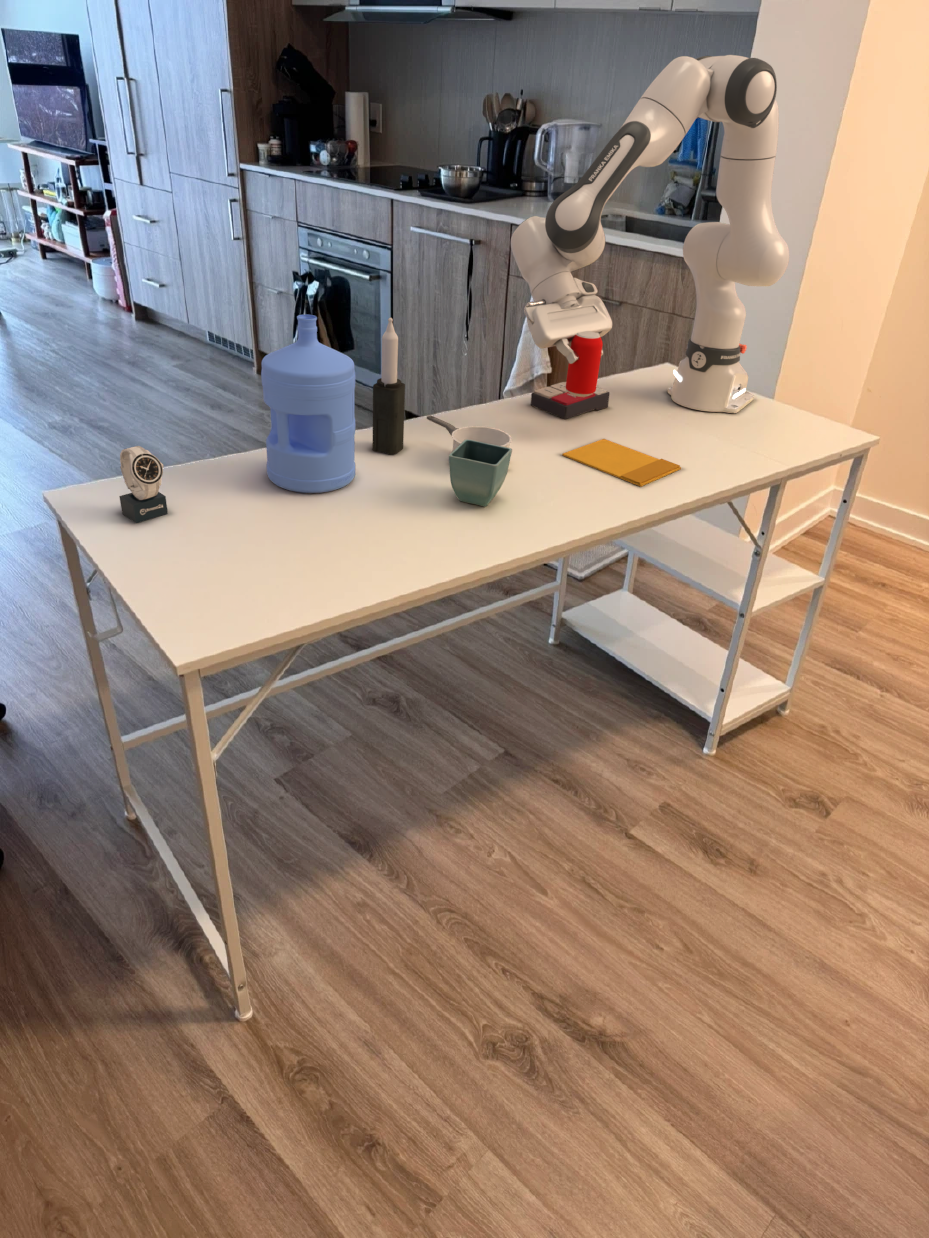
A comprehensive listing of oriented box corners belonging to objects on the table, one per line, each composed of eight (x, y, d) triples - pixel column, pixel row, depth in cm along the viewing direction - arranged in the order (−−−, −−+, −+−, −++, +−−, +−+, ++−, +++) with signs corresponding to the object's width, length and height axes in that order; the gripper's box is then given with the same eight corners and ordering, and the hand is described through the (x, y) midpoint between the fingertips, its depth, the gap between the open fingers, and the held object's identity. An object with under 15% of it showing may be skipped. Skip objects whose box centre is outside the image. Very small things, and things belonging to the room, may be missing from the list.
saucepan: (447, 436, 177) (448, 409, 174) (521, 466, 166) (524, 439, 163) (406, 448, 169) (407, 421, 166) (481, 481, 158) (484, 452, 155)
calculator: (530, 389, 194) (575, 376, 203) (529, 407, 197) (573, 393, 205) (566, 403, 188) (611, 389, 196) (564, 422, 190) (608, 407, 199)
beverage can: (568, 387, 179) (575, 328, 173) (597, 391, 178) (606, 332, 171) (562, 395, 174) (569, 335, 168) (592, 400, 173) (601, 340, 166)
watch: (142, 527, 134) (132, 461, 128) (116, 510, 139) (106, 445, 133) (174, 517, 138) (166, 453, 132) (148, 501, 142) (139, 437, 136)
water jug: (310, 453, 164) (305, 300, 149) (373, 476, 157) (375, 318, 142) (248, 477, 153) (236, 315, 138) (313, 503, 146) (308, 335, 131)
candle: (370, 450, 167) (371, 318, 154) (382, 442, 171) (384, 312, 158) (393, 455, 166) (397, 322, 152) (405, 447, 170) (409, 317, 156)
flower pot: (492, 514, 147) (497, 465, 142) (444, 503, 149) (447, 455, 144) (508, 495, 154) (513, 448, 149) (462, 485, 156) (465, 438, 151)
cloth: (603, 440, 181) (604, 437, 180) (680, 469, 170) (681, 466, 170) (561, 455, 172) (562, 452, 172) (640, 486, 161) (641, 483, 161)
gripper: (530, 294, 164) (561, 358, 163) (600, 283, 176) (629, 344, 175) (511, 312, 169) (542, 375, 168) (581, 301, 181) (609, 360, 180)
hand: (587, 359), depth 172 cm, fingers closed on beverage can, 6 cm apart
